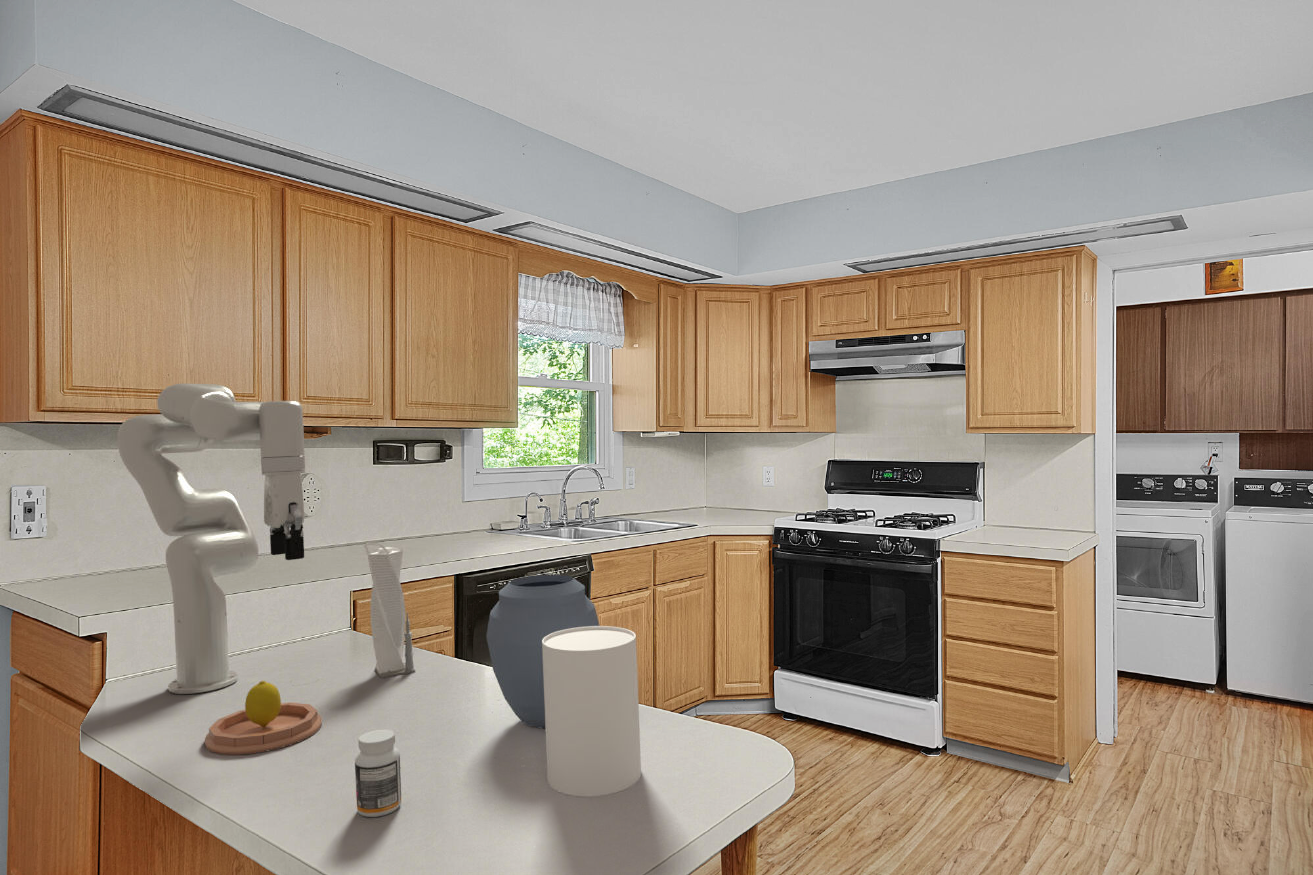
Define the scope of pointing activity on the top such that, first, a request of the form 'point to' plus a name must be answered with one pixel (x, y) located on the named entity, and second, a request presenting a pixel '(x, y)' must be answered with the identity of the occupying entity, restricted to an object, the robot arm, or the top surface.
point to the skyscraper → (389, 613)
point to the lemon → (263, 703)
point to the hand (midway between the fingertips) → (287, 556)
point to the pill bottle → (377, 774)
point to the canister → (591, 710)
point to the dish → (262, 730)
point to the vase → (532, 636)
